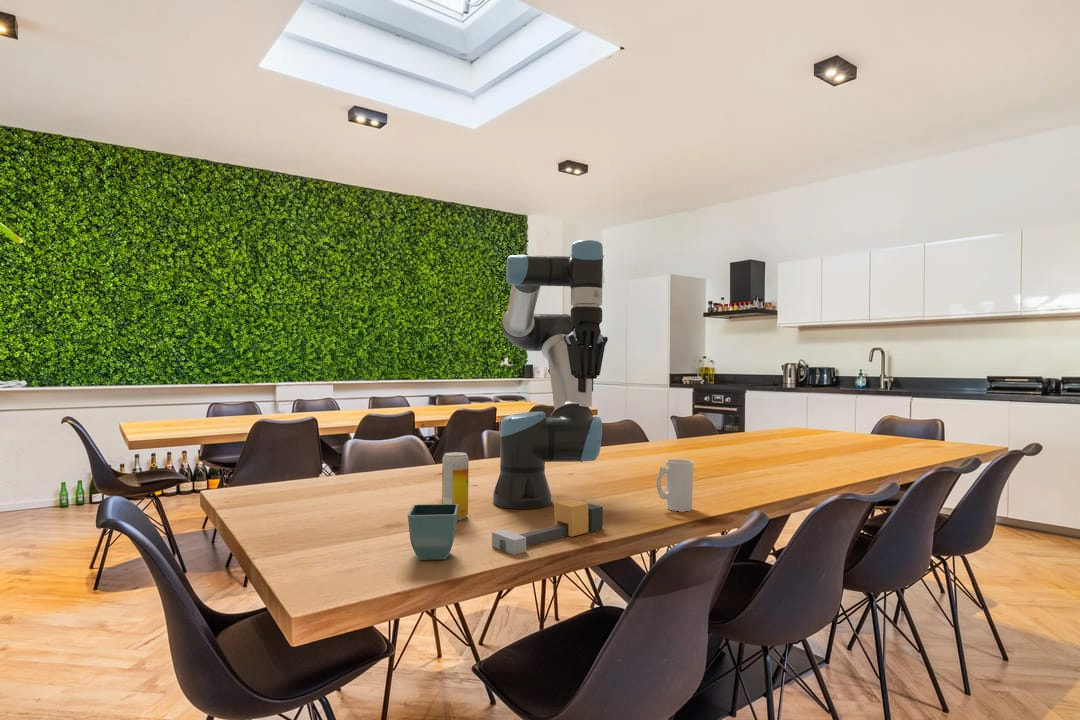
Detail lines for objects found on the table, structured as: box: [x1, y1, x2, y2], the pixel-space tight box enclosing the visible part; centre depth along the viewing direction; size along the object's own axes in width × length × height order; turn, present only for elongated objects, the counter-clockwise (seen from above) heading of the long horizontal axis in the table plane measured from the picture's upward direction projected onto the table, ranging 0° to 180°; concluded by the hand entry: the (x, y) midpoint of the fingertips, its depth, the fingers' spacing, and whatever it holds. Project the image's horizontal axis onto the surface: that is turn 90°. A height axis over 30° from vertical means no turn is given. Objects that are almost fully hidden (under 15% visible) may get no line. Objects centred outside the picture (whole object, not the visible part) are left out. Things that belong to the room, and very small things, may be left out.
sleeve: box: [553, 498, 589, 537], centre depth 132 cm, size 5×5×6 cm
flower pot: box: [407, 503, 458, 561], centre depth 116 cm, size 9×9×9 cm
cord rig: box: [491, 502, 604, 556], centre depth 128 cm, size 26×7×5 cm, turn 132°
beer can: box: [441, 451, 470, 521], centre depth 144 cm, size 6×6×15 cm
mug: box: [656, 458, 694, 513], centre depth 154 cm, size 10×7×12 cm, turn 112°
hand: (585, 406), depth 145 cm, fingers closed
